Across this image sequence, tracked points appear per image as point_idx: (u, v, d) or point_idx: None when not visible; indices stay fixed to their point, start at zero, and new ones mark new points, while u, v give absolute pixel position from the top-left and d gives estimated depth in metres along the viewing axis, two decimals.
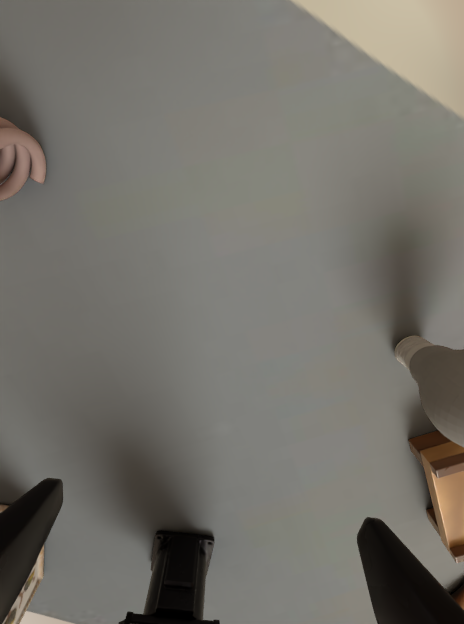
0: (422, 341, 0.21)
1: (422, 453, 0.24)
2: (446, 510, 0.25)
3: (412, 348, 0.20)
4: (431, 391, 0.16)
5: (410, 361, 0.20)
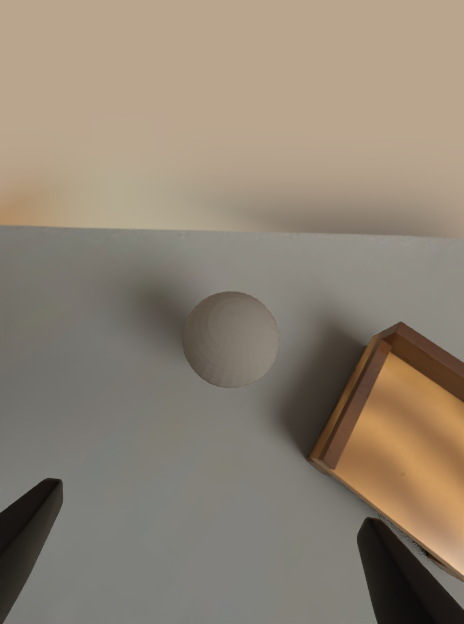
0: None
1: (312, 457, 0.19)
2: (405, 519, 0.17)
3: None
4: (185, 355, 0.16)
5: None
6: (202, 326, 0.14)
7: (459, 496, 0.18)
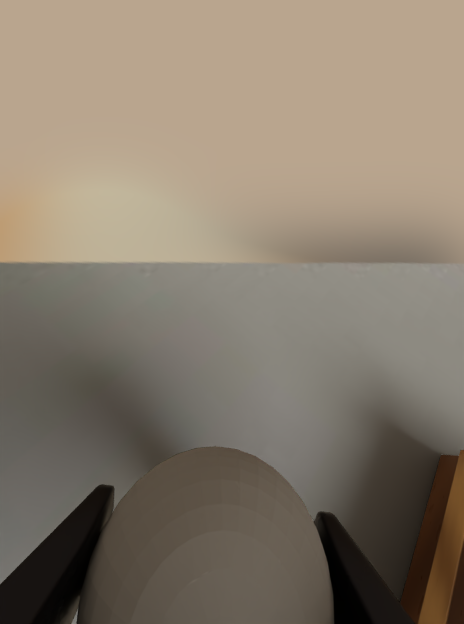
0: None
1: None
2: None
3: None
4: None
5: None
6: None
7: None
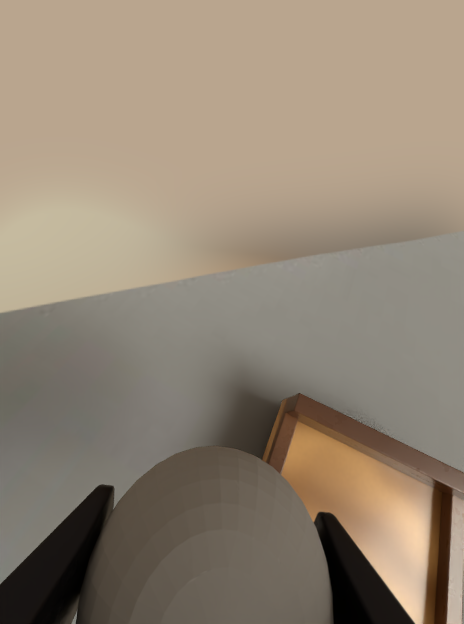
0: None
1: None
2: None
3: None
4: None
5: None
6: None
7: None
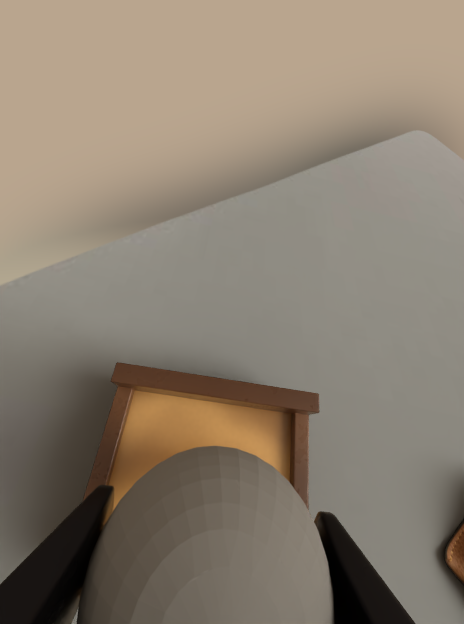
0: None
1: None
2: None
3: None
4: None
5: None
6: None
7: None
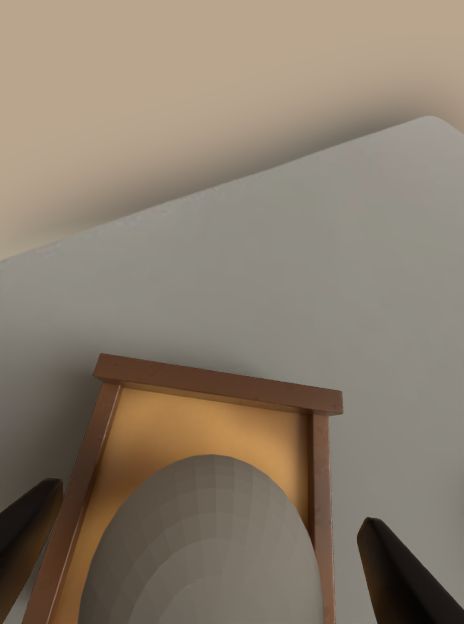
0: None
1: None
2: None
3: None
4: None
5: None
6: None
7: None
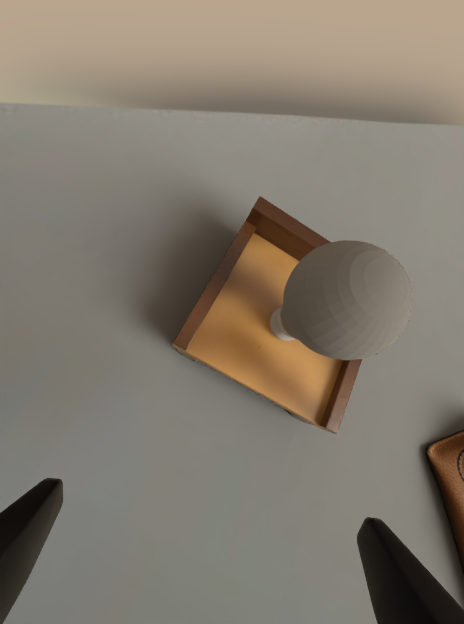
0: None
1: (172, 344, 0.19)
2: (258, 383, 0.19)
3: (280, 309, 0.18)
4: (287, 299, 0.13)
5: (280, 318, 0.17)
6: (339, 272, 0.11)
7: (310, 358, 0.20)
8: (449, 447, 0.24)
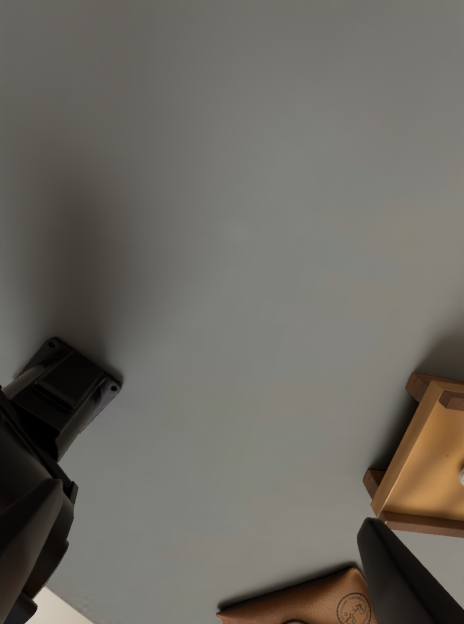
0: None
1: (434, 382, 0.19)
2: (413, 462, 0.21)
3: None
4: None
5: None
6: None
7: (439, 494, 0.22)
8: (361, 583, 0.29)
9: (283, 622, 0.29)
